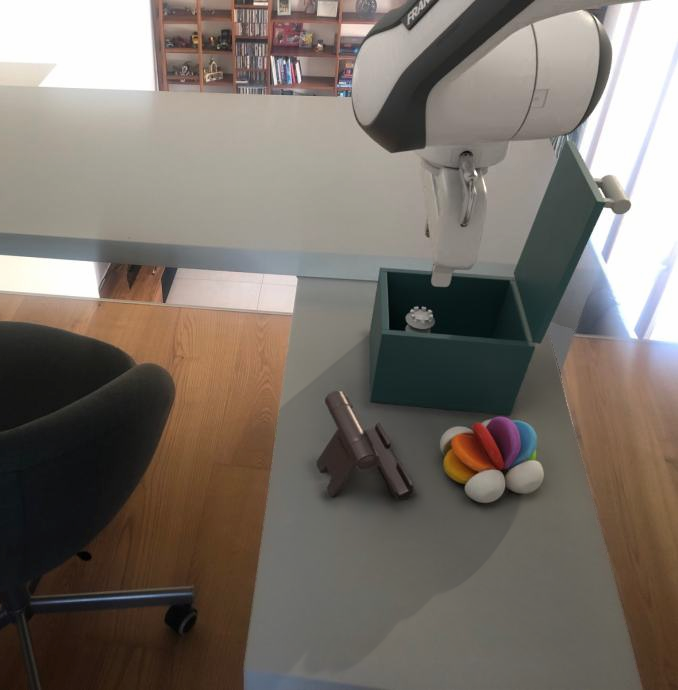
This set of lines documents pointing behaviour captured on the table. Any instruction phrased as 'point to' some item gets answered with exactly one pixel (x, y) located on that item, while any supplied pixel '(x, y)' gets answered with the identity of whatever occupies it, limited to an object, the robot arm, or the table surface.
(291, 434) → the table surface
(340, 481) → the tablet stand
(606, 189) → the lid
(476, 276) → the teal hinged box
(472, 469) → the multicoloured rounded lobed piece
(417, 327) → the rook chess piece
